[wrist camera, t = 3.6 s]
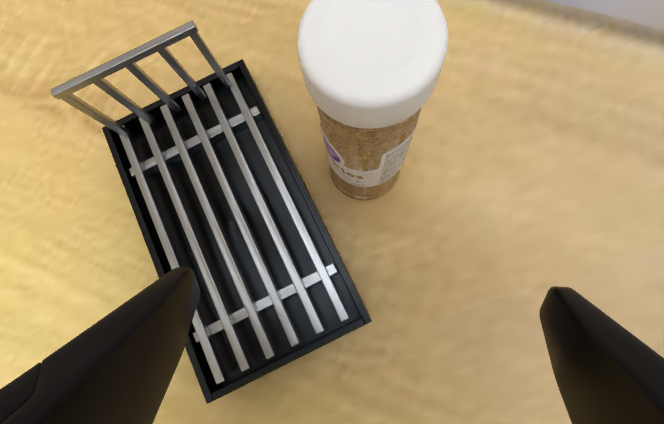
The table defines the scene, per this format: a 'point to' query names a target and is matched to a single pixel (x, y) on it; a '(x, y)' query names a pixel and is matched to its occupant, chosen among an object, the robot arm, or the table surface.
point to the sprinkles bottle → (370, 82)
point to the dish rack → (226, 216)
